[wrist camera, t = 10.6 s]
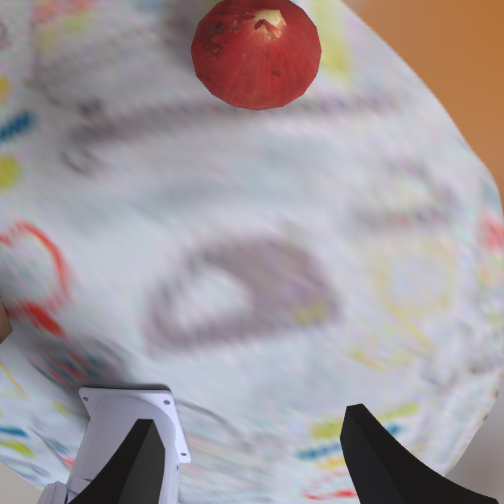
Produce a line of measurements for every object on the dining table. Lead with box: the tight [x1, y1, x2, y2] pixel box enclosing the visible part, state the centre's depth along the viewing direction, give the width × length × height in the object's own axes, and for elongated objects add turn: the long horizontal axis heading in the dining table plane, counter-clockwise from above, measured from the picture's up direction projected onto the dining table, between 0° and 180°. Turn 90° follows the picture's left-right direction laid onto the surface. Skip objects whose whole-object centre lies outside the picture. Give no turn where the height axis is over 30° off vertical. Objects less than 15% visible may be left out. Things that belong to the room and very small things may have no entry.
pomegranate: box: [191, 0, 322, 110], centre depth 12 cm, size 6×6×8 cm
